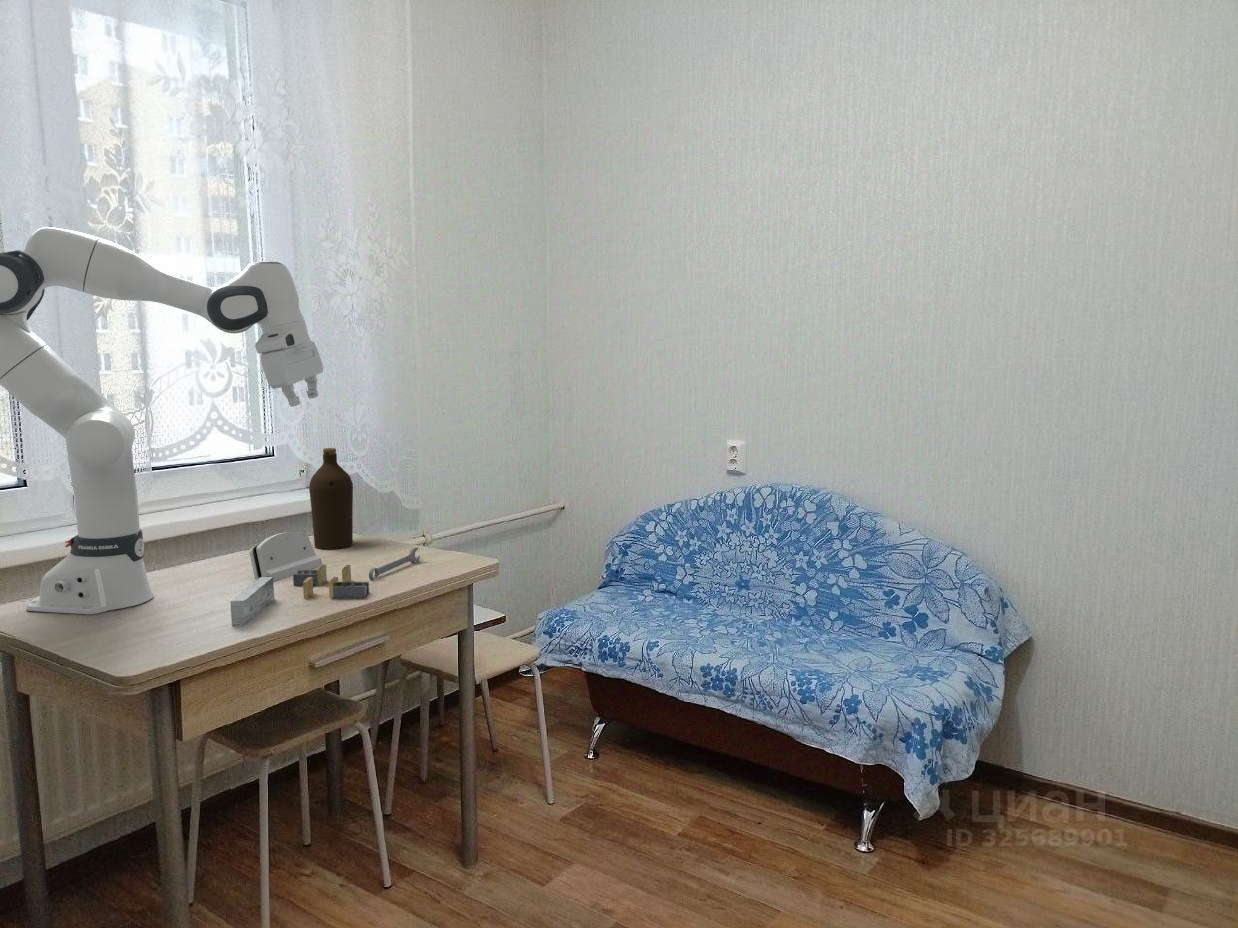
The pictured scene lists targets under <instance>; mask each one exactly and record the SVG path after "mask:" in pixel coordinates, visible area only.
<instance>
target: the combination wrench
mask: <svg viewBox="0 0 1238 928" xmlns="http://www.w3.org/2000/svg"><path fill="white" fill-rule="evenodd" d="M418 550H419V547H412V548H411V549H410V550H409V553H408V554H406V556H403V557H400V558H398V559H395V560H393V561H391V562H389V563H387V564H383V565H381V566H379V567H370V569H369V571H368V578H369V580H370V581H375V580H377V579H379V576H381V575H382V574H384V573H386V572H389V571H391V570H393V569H395V568H397V567H400V566H402V565H404V564H406V563H408V562H410V563H412V562H415V561H418V562H419V560H420V557H421V554H419V555H417V556H416V552H417V551H418ZM415 563H416V562H415Z"/></svg>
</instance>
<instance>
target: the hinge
mask: <svg viewBox="0 0 1238 928" xmlns="http://www.w3.org/2000/svg"><path fill="white" fill-rule="evenodd" d="M249 557H250V562H251V568H252V571H253V576H254V580H255V581H256V580H258V579H259V578H260V577H273V582H277V581H280V580H282V579H285V578H289V577H291V576H292V577H293V574H298V570H314V569H316V568H320V567H321V566H322V565H324V564H323V561H322V558H321V557H320V556H318V555H317V554H316V552H315V549H314V547H313V545H312V543H311V541H310V538H309V535H307V533H305V532H301V531H287V532H280V533H277V534H274V535H270V536H267V537H266V538H264V539H262V540H260V541H259V542H257V543H256V544H255V545H254V546H253V547H251V548H250V549H249Z"/></svg>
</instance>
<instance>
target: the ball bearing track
mask: <svg viewBox="0 0 1238 928" xmlns="http://www.w3.org/2000/svg"><path fill="white" fill-rule="evenodd" d="M351 574H352V572H351V564H346V565H345V566H344V567H343V568H342V569H341V577H342V579H341V580H342V581H339V576H334V577H332V578H331V579H330V580H329V581H328V590H329V591H328V592H329V593H328V595H329V599H365V598H366V596H368V595H369V594H370V581H351V580H352V575H351ZM327 575H328V574H327V564H323V565H322V566H319V567H317V569H310V570H298V574H293V575H292V577H293V578H292V580H293V581H292V582H293V586H295V587H296V586H300V587H301V586H302V587H303V589H302V590H303V591H302V592H303V593H302V594H303V599H309V598H310V597H311V596H312V595H314V586H323V585H324V584H325V583H326V582H327V580H328V578H327Z"/></svg>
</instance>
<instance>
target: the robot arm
mask: <svg viewBox="0 0 1238 928" xmlns="http://www.w3.org/2000/svg"><path fill="white" fill-rule="evenodd" d="M54 286H55V287H63V288H68V289H70V290H75V291H76V292H77V291H78V292H81V293H84V294H87V295H91V296H94V297H95V296H96V297H99V298H105V299H111V300H116V301H117V300H119V301H133V302H135V301H142V302H143V301H144V302H151V303H152V302H153V303H157V304H158V303H159V304H162V305H166V306H169V307H173V308H177V309H179V310H183V311H185V312H190V313H193V314H194V315H197V316H200V317H202V318H204V319H205V320H207V321H208V322H209V323H211V324H212V325H213V326H214V327H215V328H217V329H218V330H220V331H222V332H225V333H226V334H227V333H228V334H241V333H243V332H246V331H248V330H250V328H252V326H254V325H255V324H258V325H259V326H260V328H261V333H262V334H261V335H260V338H259V339H258V340H257V341H256V342H255V345H254V348H255V351H256V353H257V354H261V355H260V363H261V366H262V370H263V373H264V376H265V378H266V381H267V383H268V385H269V387H271V389H273V390H274V389H275V390H276V389H280V388H281V391H282V394H283V395H284V396H285V398H286V399H287V402H288V405H289V407H292V408H293V407H297V406H299V405H301V401H300V397H299V396H300V395H299V396H297V394H296V392H295V386H294V384H296V383H299V382H301V381H304V382H305V383H306V385H307V386H306V387H307V390H306V394H307V398H308V399H310V400H311V399H316V398H317V397H319V392H318V378H317V375H320V374H322V373H323V372H324V365H323V362H322V358H321V356H320V353H319V350H318V347H317V345H316V344H315V342H314V341H313V340H311V338H310V336H309V331H308V327H307V324H306V321H305V317H304V315H303V314H302V312H301V310H300V305H299V304H300V299H299V295H298V291H297V288H296V285H295V282H294V279H293V277H292V274H291V272H290V270H289V269H288V267H287V266H286V265H284V264H283V263H281V262H279V261H273V260H272V261H271V260H269V261H267V260H264V261H263V260H262V261H252V262H250V263H248V264H247V266H246V267H245V268H244V269H243V270H242V271H241V272H240V273H238V275H236V276H235V277H234V278H232V279H231V280H229V281H228V282H226V283H224V284H222V285H220V286H208V285H204V284H202V283H198V282H194V281H191V280H189V279H185V278H182V277H179V276H176V275H173V274H170V273H169V272H166V271H163V270H161V269H159V268H158V267H156V266H155V265H153V264H151V263H150V262H148V261H147V260H146V259H144V258H143V257H142V256H141V255H139V254H138V253H135V252H134V251H133V250H130V249H129V248H126V247H124V246H122V245H120V244H117V243H116V242H115V243H114V242H113V241H110V240H106V239H104V238H101V237H97V236H95V235H91V234H87V233H84V232H79V231H75V230H70V229H64V228H60V227H59V228H58V227H50V226H46V227H41V228H38V229H37V230H36V231H34V232H33V233H32V235H30V237H29V238H28V240H27V242H26V245H25V248H24V249H23V251H22V250H18V249H17V250H13V251H11V250H10V251H5V252H0V386H2V388H3V389H5V390H6V391H7V392H8V393H9V394H10V395H11V396H12V397H14V399H16V400H17V401H18V402H19V403H20V404H21V405H22V406H23V407H24V408H25V409H27V410H28V412H30V413H31V414H32V415H33V416H35V417H37V418H38V419H40V420H41V421H42V422H44V423H45V424H46V425H48V427H50V428H52V429H53V430H54V431H55V432H57V433H59V435H61V437H63V438H64V439H65V443H66V445H65V446H66V450H67V451H66V452H67V459H68V466H69V474H70V479H71V484H72V488H73V489H72V490H73V495H74V503H75V504H74V505H75V514H76V515H75V516H76V525H77V526H76V527H77V535H75V536H73V537H72V538H70V539H69V540H66V541H64V543H65V544H66V545H65V546H64V547H65V548H68V547H70V552H69V554H68V555H67V556H66V557H65V558H63V559H62V560H61V561H59V562H58V563H57V564H56V565H54V567H51V569H49V570H48V571H47V572H45V574H44V575H43V577H42V579H41V582H40V585H39V587H40V588H39V595H38V596H37V597H35V598H33V599H32V600H30V601H29V602H28V603H27V611H31V612H42V613H43V612H45V613H60V614H61V613H62V614H78V615H79V614H81V615H97V614H100V613H104V612H108V611H112V610H113V611H114V610H117V609H124V608H125V609H126V608H129V607H133V606H137V605H141V604H143V603H145V602H148V601H150V600H152V599H153V598H154V592H153V590H152V588H151V586H150V585H151V584H150V582H149V579H148V575H147V571H146V567H145V562H144V556H145V545H144V535H143V529H141V528H140V527H141V526H140V516H139V515H140V514H139V512H140V511H139V501H138V489H137V485H136V484H137V483H136V476H135V469H134V468H135V467H134V459H133V457H134V456H133V444H134V442H135V428H134V426H133V423H132V422H131V420H130V419H129V418H128V417H127V416H126V415H125V414H124V413H123V412H122V411H121V410H119V408H117V407H116V406H115V405H114V404H113V403H112V402H111V401H110V400H109V399H107V398H106V397H105V396H104V395H103V394H101V393H100V392H99V391H98V390H97V389H96V388H95V387H93V386H92V385H91V384H90V383H89V382H88V381H86V380H85V379H84V378H82V376H81V375H79V374H78V373H77V372H76V370H74V369H73V368H72V367H71V366H70V365H69V364H68V363H67V362H66V361H65V360H64V359H63V358H62V357H61V356H60V355H59V354H57V352H56V351H54V349H52V348H51V347H50V346H49V344H47V343H46V342H45V341H44V340H43V339H42V338H41V337H40V336H39V335H38V334H37V333H36V332H35V331H34V329H32V328H31V326H30V324H29V323H28V320H30V318H31V316H32V315H33V313H34V312H35V310H36V309H37V308H38V306H40V303H41V302H42V300H43V298H44V295H45V291H46V289H47V288H49V287H54Z"/></svg>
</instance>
